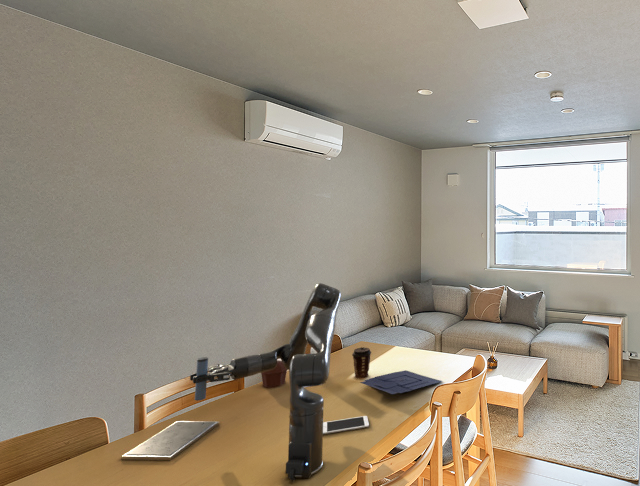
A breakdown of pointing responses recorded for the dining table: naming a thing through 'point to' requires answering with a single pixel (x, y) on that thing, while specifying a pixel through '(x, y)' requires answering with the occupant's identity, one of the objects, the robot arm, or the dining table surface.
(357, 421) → the cell phone
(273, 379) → the muffin
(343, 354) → the dining table surface
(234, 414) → the dining table surface
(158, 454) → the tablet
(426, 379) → the navy compartment tray
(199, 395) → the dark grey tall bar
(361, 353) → the coffee cup
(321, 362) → the robot arm
